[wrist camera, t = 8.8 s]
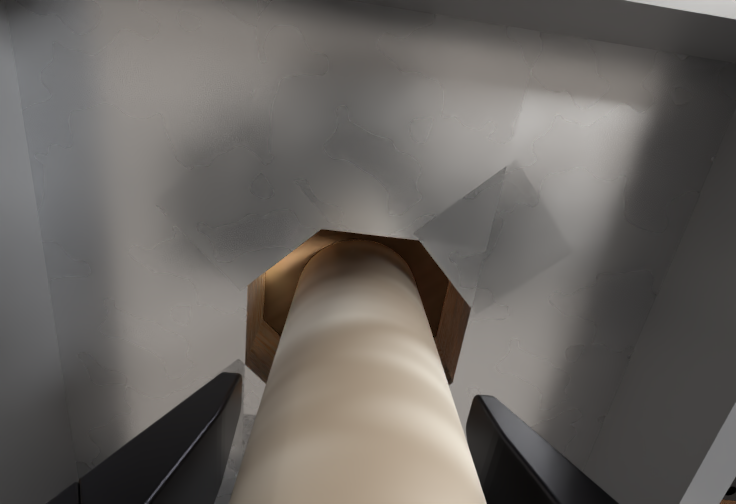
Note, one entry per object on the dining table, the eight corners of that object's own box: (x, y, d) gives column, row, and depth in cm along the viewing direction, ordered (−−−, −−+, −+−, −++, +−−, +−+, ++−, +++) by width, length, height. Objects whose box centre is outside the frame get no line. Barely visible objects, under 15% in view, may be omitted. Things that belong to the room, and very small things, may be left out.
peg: (426, 247, 13) (596, 607, 4) (405, 351, 15) (494, 804, 5) (301, 232, 13) (160, 583, 4) (293, 340, 14) (174, 798, 5)
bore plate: (672, 71, 12) (753, 65, 9) (522, 486, 17) (549, 548, 15) (77, -22, 10) (-4, -57, 8) (124, 458, 16) (85, 521, 13)
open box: (720, 37, 11) (1029, -11, 6) (539, 505, 18) (616, 675, 12) (28, -78, 10) (-324, -266, 5) (100, 476, 16) (-19, 654, 11)
